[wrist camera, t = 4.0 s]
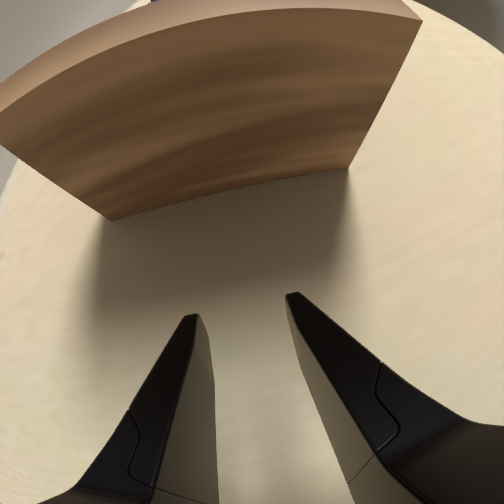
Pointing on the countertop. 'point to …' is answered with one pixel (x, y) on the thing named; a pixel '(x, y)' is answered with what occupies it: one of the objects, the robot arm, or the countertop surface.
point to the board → (204, 97)
